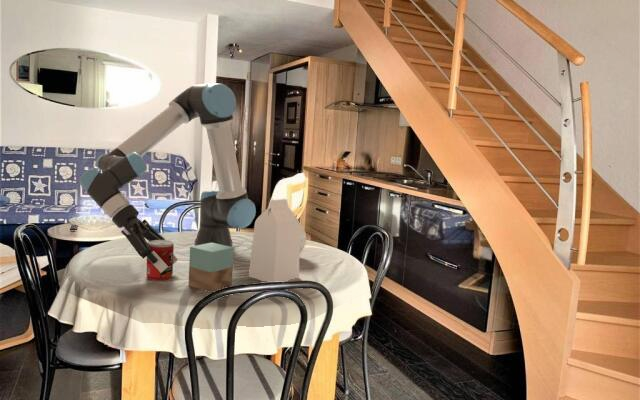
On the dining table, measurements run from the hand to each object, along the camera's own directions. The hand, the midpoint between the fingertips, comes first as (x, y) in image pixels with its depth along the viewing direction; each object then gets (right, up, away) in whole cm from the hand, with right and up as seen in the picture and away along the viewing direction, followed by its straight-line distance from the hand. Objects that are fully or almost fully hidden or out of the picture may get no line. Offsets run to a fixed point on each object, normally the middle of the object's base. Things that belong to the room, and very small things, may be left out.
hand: (170, 265), depth 150 cm
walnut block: (+13, -5, -5) cm, 15 cm away
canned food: (-4, -4, +1) cm, 5 cm away
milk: (+31, -5, +9) cm, 33 cm away
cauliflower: (+32, -2, +34) cm, 46 cm away
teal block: (+14, 0, -5) cm, 15 cm away
